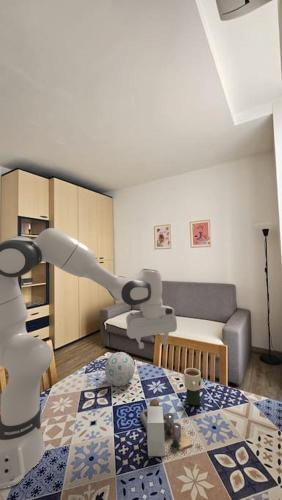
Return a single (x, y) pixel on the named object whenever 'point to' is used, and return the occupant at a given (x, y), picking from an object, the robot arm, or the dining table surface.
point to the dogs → (176, 433)
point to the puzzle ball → (119, 369)
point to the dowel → (154, 402)
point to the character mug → (192, 385)
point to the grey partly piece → (144, 418)
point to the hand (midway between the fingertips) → (152, 345)
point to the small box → (155, 431)
